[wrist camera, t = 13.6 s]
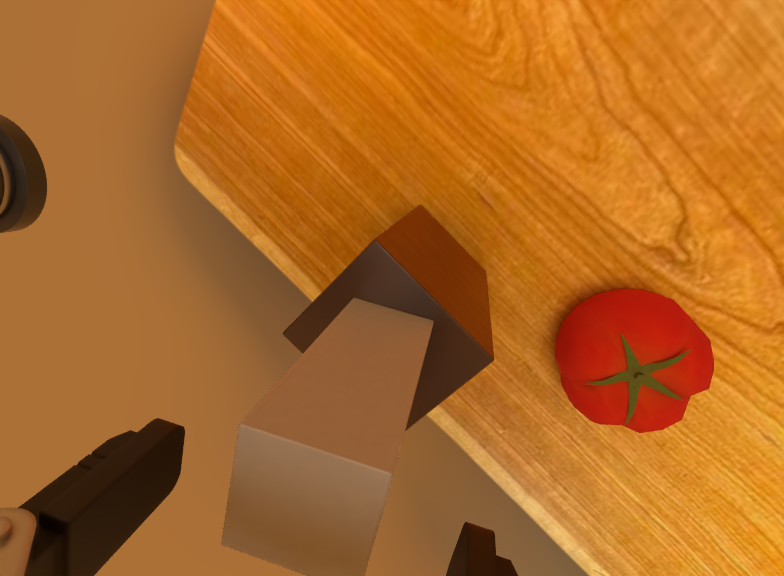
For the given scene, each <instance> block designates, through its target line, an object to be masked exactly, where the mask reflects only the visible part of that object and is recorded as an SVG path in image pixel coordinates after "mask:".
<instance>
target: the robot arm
mask: <svg viewBox="0 0 784 576" xmlns="http://www.w3.org/2000/svg"><path fill="white" fill-rule="evenodd" d="M15 191H16V183H15V175H14V171H13V167H12V165H11V162H10V160H9V158H8V156H7V154H6V152H5V150H4V149H3V147H2V146H1V145H0V218H1V217H3V216H4V215H5V214H6V213H7V212H8V211H9V209H10V208H11V206H12V204H13V201H14V197H15ZM184 437H185V429H184V427H183V426H180V425H177V424H174V423H171V422H168V421H165V420H162V419H159V418H157V419H154V420H153V421H151V422H150V423H149V424H147V425H146V426H145V427H144V428H142V429H141V430H140V431H139V432H134V431H131V430H130V431H128V432H126V433H123V434H121V435H118V436H116V437H113V438H111V439H109V440H107V441H106V442H105V443H103V444H102V445H101V446H99V447H98V448H97V449H95V450H94V451H93V452H92V454H91V455H88V456H86V457H85V458H84V459H82V460H81V461H79V463H78V464H77V465H75V466H73V467H72V468H70V469H69V470H68V471H66V472H65V473H64V474H62V475H61V476H60V477H58V478H57V479H56V480H54V481H53V482H52V483H50V484H49V485H48V486H46V487H45V488H44V489H42V490H41V491H40V492H39V493H37V494H36V495H35V496H33V497H32V498H31V499H29V500H28V501H27V502H25V503H24V504H22V505H21V506H20V507H18V508H1V509H0V576H94V575H95V574H96V573H97V572H98V571H99V570H100V568H101V567H102V566H103V565H104V564H105V563H106V562H107V561H108V560H109V559H110V558H111V556H113V554H114V553H115V552H116V551H117V550H118V549H119V548H120V547H121V546H122V545H123V543H125V541H126V540H127V539H128V538H129V537H130V536H131V535H132V534H133V533H134V532H135V531H136V530H137V528H138V527H139V526H140V525H141V524H142V523H143V522H144V521H145V520H146V519H147V518H148V517H149V515H150V514H151V513H152V512H153V511H154V510H155V509H156V508H157V507H158V506H159V504H161V502H162V501H163V500H164V499H165V498H166V497H167V496H168V495H169V494H170V492H171V491H172V490H173V488H174V486H175V485H176V483H177V480H178V478H179V475H180V471H181V464H182V455H183V445H184ZM446 576H518V575H517V573H516V571H515V568H514V566H513V565H512V562H511V560H508V559H505V558H502V557H499V556H497V555H496V547H495V534H494V532H493V531H492V530H489V529H486V528H483V527H480V526H477V525H474V524H471V523H468V522H465V524H464V525H463V528H462V531H461V533H460V536H459V539H458V542H457V544H456V547H455V550H454V552H453V555H452V558H451V561H450V564H449V567H448V571H447V574H446Z"/></svg>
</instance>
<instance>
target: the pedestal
mask: <svg viewBox="0 0 784 576" xmlns="http://www.w3.org/2000/svg"><path fill="white" fill-rule="evenodd" d="M353 298H357V299H360V300H364V301H367V302H371V303H374V304H378V305H381V306H385V307H388V308H392V309H395V310H398V311H402V312H405V313H409V314H412V315H416V316H419V317H423V318H426V319H430V320H433V321H434V323H433V327H432V331H431V335H430V338H429V342H428V346H427V350H426V354H425V357H424V361H423V365H422V369H421V372H420V376H419V380H418V384H417V388H416V391H415V395H414V399H413V403H412V407H411V410H410V414H409V418H408V422H407V425H406V429H405V431H406V430H407V429H408V428H410V427H411V426H412V425H413V424H415V423H416V422H417V421H418V420H420V419H421V418H422V417H424V416H425V415H426V414H427V413H429V412H430V411H431V410H432V409H434V408H435V407H436V406H437V405H439V404H440V403H441V402H442V401H444V400H445V399H446V398H447V397H449V396H450V395H451V394H452V393H454V392H455V391H456V390H457V389H459V388H460V387H461V386H462V385H464V384H465V383H466V382H467V381H469V380H470V379H471V378H472V377H474V376H475V375H476V374H477V373H479V372H480V371H481V370H482V369H484V368H485V367H486V366H488V365H489V364H490V363H491V362H493V361H494V353H493V342H492V331H491V320H490V309H489V298H488V288H487V277H486V271H485V270H484V269H483V268H482V267H481V266H480V265H479V264H478V263H477V262H476V261H475V260H474V259H473V258H472V257H471V256H470V255H469V254H468V253H467V252H466V251H465V249H464V248H463V247H462V246H461V245H460V244H459V243H458V242H457V241H456V240H455V239H454V238H453V237H452V236H451V235H450V234H449V233H448V232H447V231H446V230H445V229H444V228H443V227H442V226H441V225H440V224H439V223H438V222H437V221H436V220H435V219H434V218H433V217H432V216H431V214H430V213H429V212H428V211H427V210H426V209H425V208H424V207H423V206H422V205H419V206H418V207H417V208H415V209H414V210H413V211H411V212H410V213H409V214H407V215H406V216H405V217H403V218H402V219H401V220H399V221H398V222H397V223H395V224H394V225H393V226H391V227H390V228H389V229H388V230H386V231H385V232H384V233H382V234H381V235H380V236H378V237H377V238H376V239H374V240H373V241H372V242H371V243H370V244H369V245H368V246H367V247H366V248H365V249H364V250H363V251H362V252H361V253H360V254H359V256H358V257H357V258H356V259H355V260H354V261H353V262H352V263H351V264H350V265H349V266H348V267H347V268H346V269H345V270H344V271H343V272H342V273H341V274H340V275H339V276H338V277H337V278H336V279H335V280H334V281H333V282H332V283H331V284H330V285H329V286H328V287H327V288H326V289H325V290H324V291H323V292H322V293H321V294H320V295H319V296H318V297H317V298H316V299H315V300H314V301H313V302H312V303H311V305H310V306H309V307H308V308H307V309H306V310H305V311H304V312H303V313H302V314H301V315H300V316H299V317H298V318H297V319H296V320H295V321H294V322H293V323H292V324H291V325H290V326H289V327H288V328H287V329H286V330H285V331H284V332H283V335H284V336H285V337H286V338H287V339H288V340H289V341H290V342H292V344H294V346H296V347H297V348H298V349H299V350H300V351H301V352H302V353H304V352H305V351H306V350H307V349H308V348H309V347H310V346H311V344H312V343H313V342H314V341H315V340H316V339H317V338H318V337H319V336H320V334H321V333H322V332H323V331H324V330H325V329H326V328H327V327H328V326H329V325H330V323H331V322H332V321H333V320H334V319H335V318H336V317H337V316H338V315H339V313H340V312H341V311H342V310H343V309H344V308H345V307H346V306H347V305H348V304H349V302H350V301H351V300H352V299H353Z"/></svg>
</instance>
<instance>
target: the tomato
mask: <svg viewBox="0 0 784 576" xmlns="http://www.w3.org/2000/svg"><path fill="white" fill-rule="evenodd" d="M555 358H556V361H557V363H558V366H559V369H560V371H561V383H562V387H563V389H564V390H565V392H566V394H567V396H568V398H569V400H570V401H571V403H572V404H573V406H574V407H575V408H576V409H578V410H579V411H580V412H581V413H582V414H584V415H585V416H586V417H587V418H588V419H590V420H591V421H593V422H595V423H598V424H606V425H622V426H625V427H627V428H630V429H632V430H634V431H636V432H639V433H644V432H650V431H657V430H663V429H665V428H667V427H669V426H671V425H673V424H675V423H676V422H678V421H680V420H682V418H683V415H684V412H685V410H686V407H687V404H688V401H689V399H690V396H692V395H694V394H697V393H699V392H701V391H704V390H706V389H709V387H710V383H711V379H712V375H713V371H714V359H713V353H712V348H711V343H710V340H709V338H708V337H707V336H706V335H705V333H704V332H703V331H702V330H701V329H700V328H699V327H698V326H697V325H696V323H695V322H694V321H693V320H692V319H691V318H690V317H689V316H688V315H687V314H686V313H685V311H684V310H683V309H682V308H681V307H680V306H679V305H678V304H677V303H676V302H675V301H674V300H672V299H669V298H667V297H664V296H661V295H658V294H655V293H652V292H649V291H646V290H643V289H616V290H612V291H608V292H604V293H599V294H596V295H594V296H593V297H591V298H589V299H587V300H586V301H584V302H582V303H580V304H579V305H577V306H576V307H575V308H574V309H573V311H572V312H571V313H570V314H569V315H568V316H567V317H566V318H565V319H564V320H563V323H562V325H561V328H560V330H559V333H558V335H557V338H556V348H555Z"/></svg>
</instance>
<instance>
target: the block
mask: <svg viewBox="0 0 784 576" xmlns="http://www.w3.org/2000/svg"><path fill="white" fill-rule="evenodd" d="M433 323H434V321H433V320H430V319H426V318H423V317H419V316H416V315H412V314H409V313H405V312H402V311H398V310H395V309H392V308H388V307H385V306H381V305H378V304H374V303H371V302H367V301H364V300H360V299H357V298H353V299H352V300H351V301H350V302H349V304H348V305H347V306H346V307H345V308H344V309H343V310H342V311H341V312H340V313H339V315H338V316H337V317H336V318H335V319H334V320H333V321H332V322H331V323H330V325H329V326H328V327H327V328H326V329H325V330H324V331H323V332H322V333H321V334H320V336H319V337H318V338H317V339H316V340H315V341H314V342H313V343H312V344H311V346H310V347H309V348H308V349H307V350H306V351H305V352H304V353H303V354H302V355H301V357H300V358H299V359H298V360H297V361H296V362H295V363H294V364H293V366H292V367H291V368H290V369H289V370H288V371H287V372H286V373H285V374H284V376H282V378H281V379H280V380H279V381H278V382H277V383H276V384H275V385H274V386H273V388H272V389H271V390H270V391H269V392H268V393H267V394H266V395H265V396H264V398H263V399H262V400H261V401H260V402H259V403H258V404H257V405H256V406H255V408H254V409H253V410H252V411H251V412H250V413H249V414H248V415H247V416H246V417H245V419H244V420H243V421H242V422H241V423H240V424H239V430H238V436H237V443H236V450H235V456H234V463H233V469H232V476H231V482H230V489H229V495H228V502H227V508H226V515H225V522H224V528H223V535H222V541H221V544H222V545H223V546H226V547H229V548H231V549H234V550H237V551H240V552H243V553H245V554H248V555H251V556H254V557H256V558H259V559H262V560H265V561H267V562H270V563H273V564H276V565H279V566H281V567H284V568H287V569H290V570H292V571H295V572H298V573H301V574H303V575H306V576H364V575H365V572H366V568H367V565H368V561H369V558H370V554H371V551H372V547H373V543H374V540H375V537H376V533H377V530H378V526H379V523H380V520H381V516H382V513H383V509H384V506H385V502H386V499H387V495H388V492H389V488H390V485H391V482H392V478H393V474H394V471H395V467H396V463H397V459H398V456H399V452H400V448H401V444H402V440H403V436H404V433H405V429H406V425H407V422H408V418H409V414H410V410H411V407H412V403H413V399H414V395H415V391H416V388H417V384H418V380H419V376H420V372H421V369H422V365H423V361H424V357H425V354H426V350H427V346H428V342H429V338H430V335H431V331H432V327H433Z"/></svg>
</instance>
